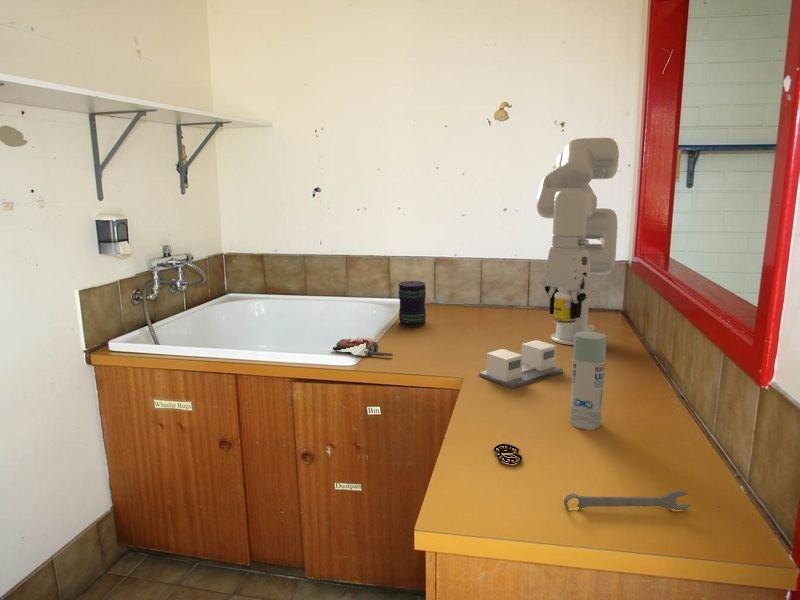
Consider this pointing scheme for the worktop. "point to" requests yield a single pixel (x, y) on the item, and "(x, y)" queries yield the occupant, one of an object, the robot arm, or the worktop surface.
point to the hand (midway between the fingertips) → (564, 314)
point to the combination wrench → (630, 501)
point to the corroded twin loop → (508, 452)
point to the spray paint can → (587, 379)
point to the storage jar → (412, 303)
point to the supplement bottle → (563, 307)
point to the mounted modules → (520, 360)
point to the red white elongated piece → (348, 343)
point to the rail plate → (524, 376)
